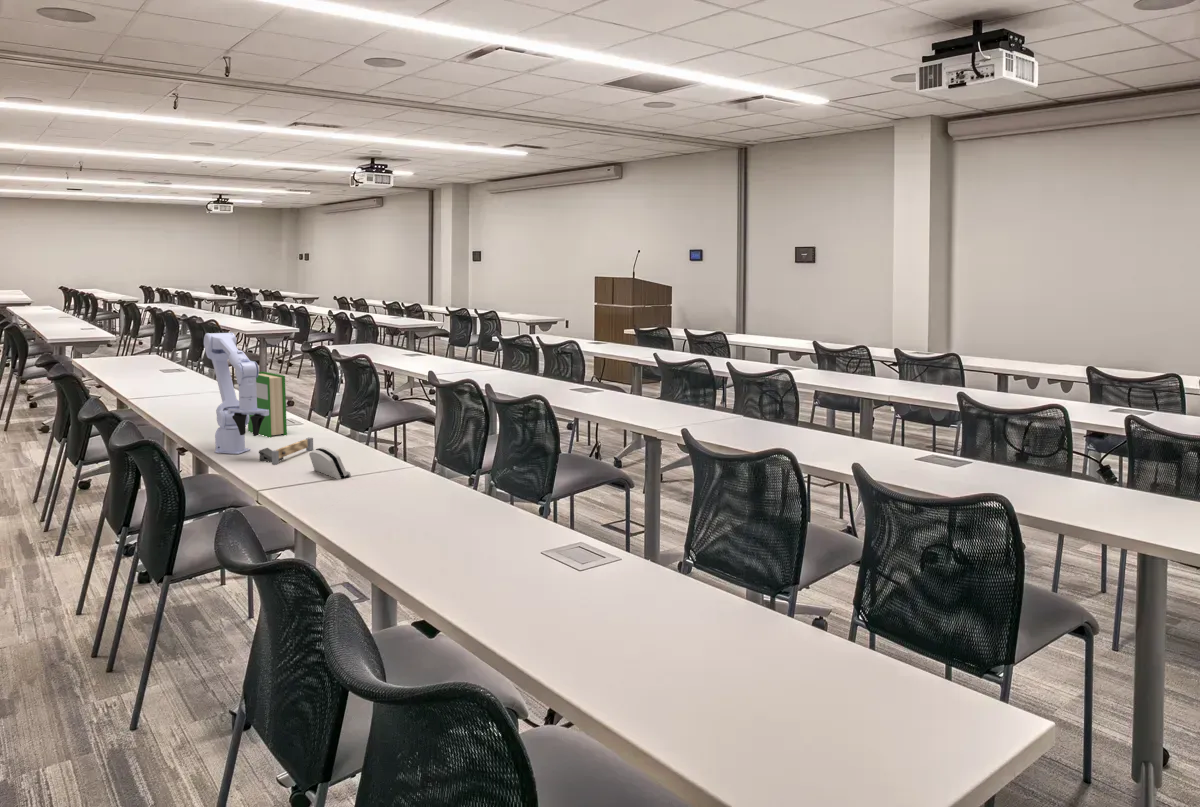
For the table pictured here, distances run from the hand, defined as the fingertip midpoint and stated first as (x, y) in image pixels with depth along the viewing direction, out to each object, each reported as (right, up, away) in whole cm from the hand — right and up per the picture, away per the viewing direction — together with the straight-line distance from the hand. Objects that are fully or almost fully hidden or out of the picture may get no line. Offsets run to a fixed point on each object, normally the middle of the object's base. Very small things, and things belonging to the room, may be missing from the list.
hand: (249, 435), depth 299 cm
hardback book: (-12, -1, +47) cm, 48 cm away
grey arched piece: (+34, -13, -18) cm, 40 cm away
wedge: (+8, -9, -1) cm, 12 cm away
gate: (+14, -6, +5) cm, 16 cm away
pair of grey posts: (+13, -8, +6) cm, 17 cm away
